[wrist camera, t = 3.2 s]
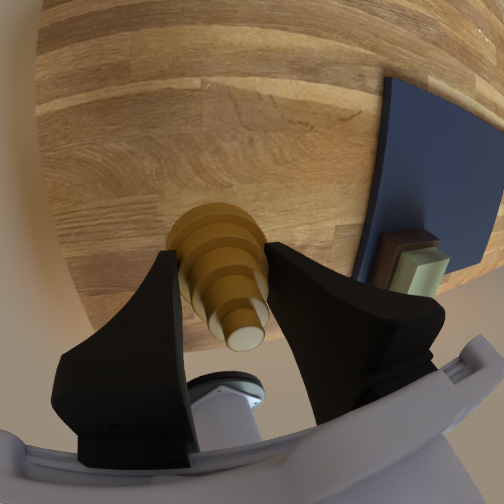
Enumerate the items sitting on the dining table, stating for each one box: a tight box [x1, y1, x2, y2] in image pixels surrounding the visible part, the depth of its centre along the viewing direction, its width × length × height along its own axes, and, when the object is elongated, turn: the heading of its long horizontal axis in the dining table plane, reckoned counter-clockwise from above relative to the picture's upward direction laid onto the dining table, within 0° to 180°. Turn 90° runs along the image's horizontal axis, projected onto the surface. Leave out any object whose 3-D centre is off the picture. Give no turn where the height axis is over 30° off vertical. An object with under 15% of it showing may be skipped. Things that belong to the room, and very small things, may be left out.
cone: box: [166, 203, 269, 352], centre depth 10 cm, size 4×4×6 cm
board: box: [352, 77, 504, 284], centre depth 26 cm, size 30×22×1 cm
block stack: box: [366, 229, 450, 298], centre depth 25 cm, size 7×7×5 cm
